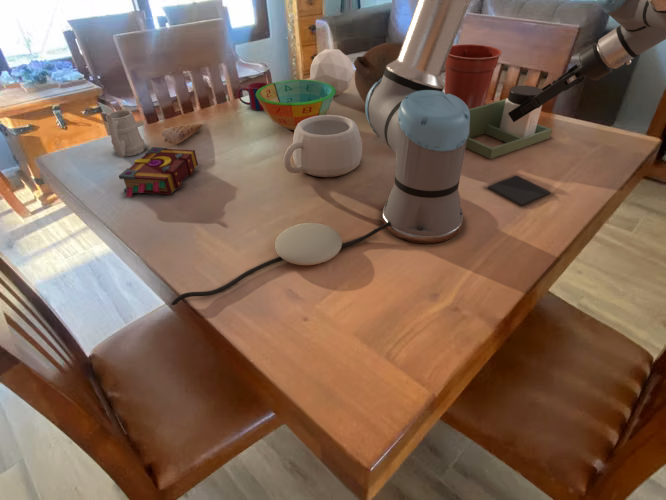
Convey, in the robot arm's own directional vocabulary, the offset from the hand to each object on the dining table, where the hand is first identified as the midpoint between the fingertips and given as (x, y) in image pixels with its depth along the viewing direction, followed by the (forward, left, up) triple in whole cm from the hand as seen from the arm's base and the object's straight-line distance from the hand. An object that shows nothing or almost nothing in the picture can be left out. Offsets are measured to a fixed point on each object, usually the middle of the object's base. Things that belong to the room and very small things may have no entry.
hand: (520, 109), depth 111 cm
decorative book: (-87, +28, -7) cm, 92 cm away
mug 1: (-91, +48, -7) cm, 103 cm away
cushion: (-71, -14, -7) cm, 73 cm away
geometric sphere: (-22, +59, -7) cm, 63 cm away
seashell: (-75, +50, -7) cm, 91 cm away
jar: (0, 0, -7) cm, 7 cm away
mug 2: (-53, +13, -7) cm, 55 cm away
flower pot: (+6, +25, -7) cm, 26 cm away
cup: (-49, +62, -7) cm, 79 cm away
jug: (-19, +29, -7) cm, 35 cm away
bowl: (-45, +40, -7) cm, 61 cm away
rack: (-5, 0, -7) cm, 9 cm away
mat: (-23, -21, -7) cm, 32 cm away
